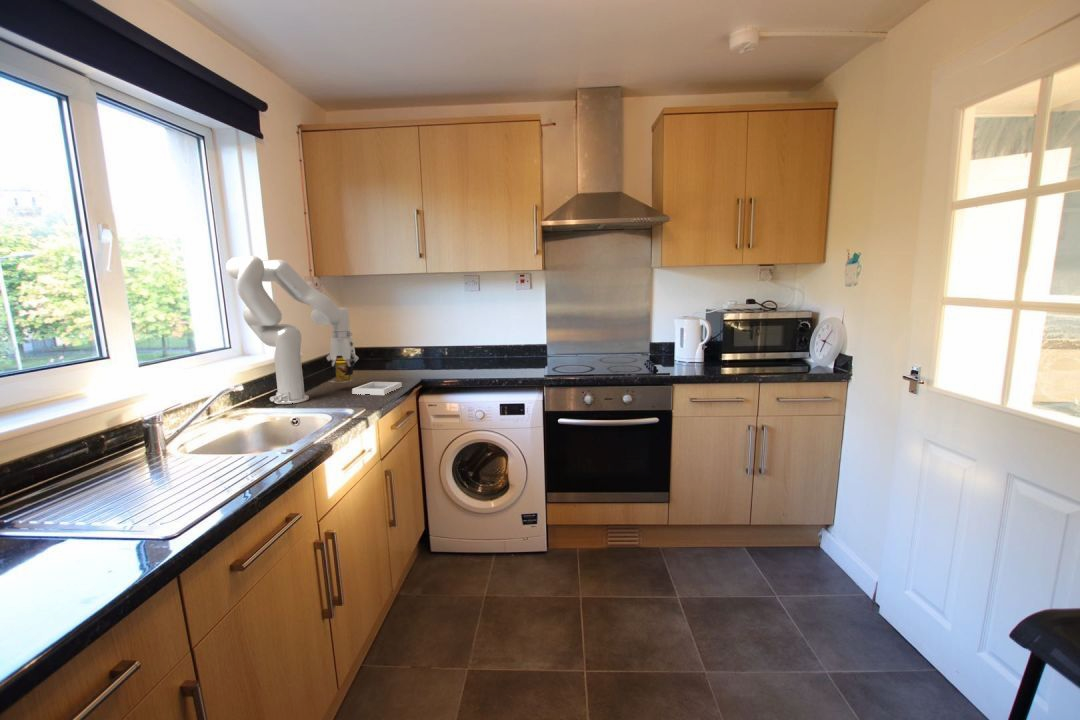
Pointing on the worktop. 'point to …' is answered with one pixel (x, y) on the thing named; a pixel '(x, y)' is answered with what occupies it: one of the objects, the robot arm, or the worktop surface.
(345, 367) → the condiment
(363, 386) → the housing
